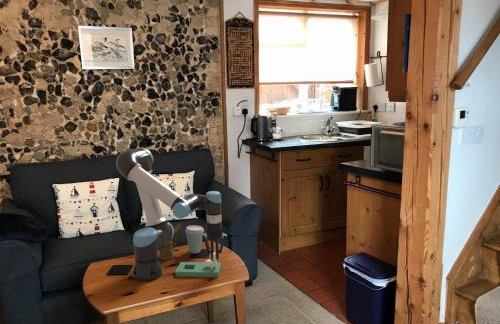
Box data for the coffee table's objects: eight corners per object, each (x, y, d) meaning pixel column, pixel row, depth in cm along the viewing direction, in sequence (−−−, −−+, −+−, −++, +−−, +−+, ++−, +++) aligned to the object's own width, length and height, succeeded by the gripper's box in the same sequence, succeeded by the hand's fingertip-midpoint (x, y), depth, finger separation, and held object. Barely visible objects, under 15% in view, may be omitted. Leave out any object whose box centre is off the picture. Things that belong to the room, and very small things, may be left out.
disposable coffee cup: (198, 246, 248) (197, 222, 246) (208, 251, 240) (207, 227, 237) (182, 251, 241) (181, 226, 239) (192, 256, 233) (191, 231, 231)
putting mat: (175, 276, 209) (175, 271, 209) (180, 266, 221) (180, 262, 220) (218, 277, 208) (218, 272, 207) (221, 266, 220) (221, 262, 219)
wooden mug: (184, 256, 235) (183, 225, 231) (162, 261, 227) (160, 230, 224) (178, 251, 242) (177, 221, 239) (156, 256, 235) (154, 226, 232)
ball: (203, 268, 212) (203, 261, 211) (205, 265, 216) (204, 258, 215) (211, 268, 211) (211, 261, 211) (212, 265, 215) (212, 258, 215)
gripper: (200, 223, 206) (201, 268, 210) (226, 224, 205) (226, 268, 209) (202, 219, 213) (203, 261, 217) (227, 219, 212) (228, 262, 217)
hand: (215, 265), depth 213 cm, fingers closed
